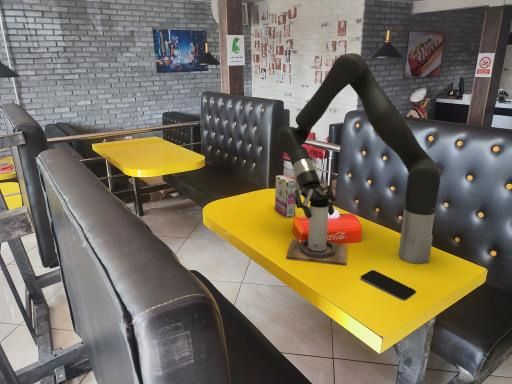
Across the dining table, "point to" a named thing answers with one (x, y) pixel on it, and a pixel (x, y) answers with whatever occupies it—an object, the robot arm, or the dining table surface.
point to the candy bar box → (285, 195)
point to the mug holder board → (331, 256)
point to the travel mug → (318, 224)
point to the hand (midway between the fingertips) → (321, 216)
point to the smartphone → (388, 285)
